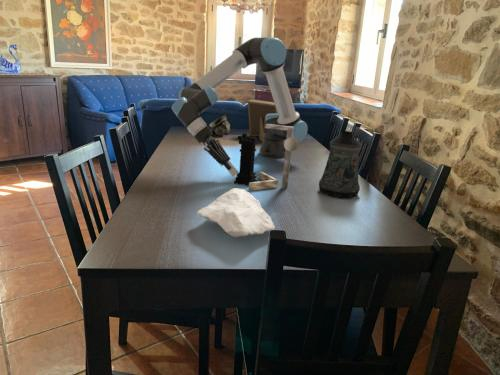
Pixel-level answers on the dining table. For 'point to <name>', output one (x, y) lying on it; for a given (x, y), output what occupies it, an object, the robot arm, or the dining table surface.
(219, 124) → the hollow geode rock
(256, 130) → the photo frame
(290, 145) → the centring cradle
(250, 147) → the chess piece
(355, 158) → the beer stein
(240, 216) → the white rock
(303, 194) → the dining table surface
